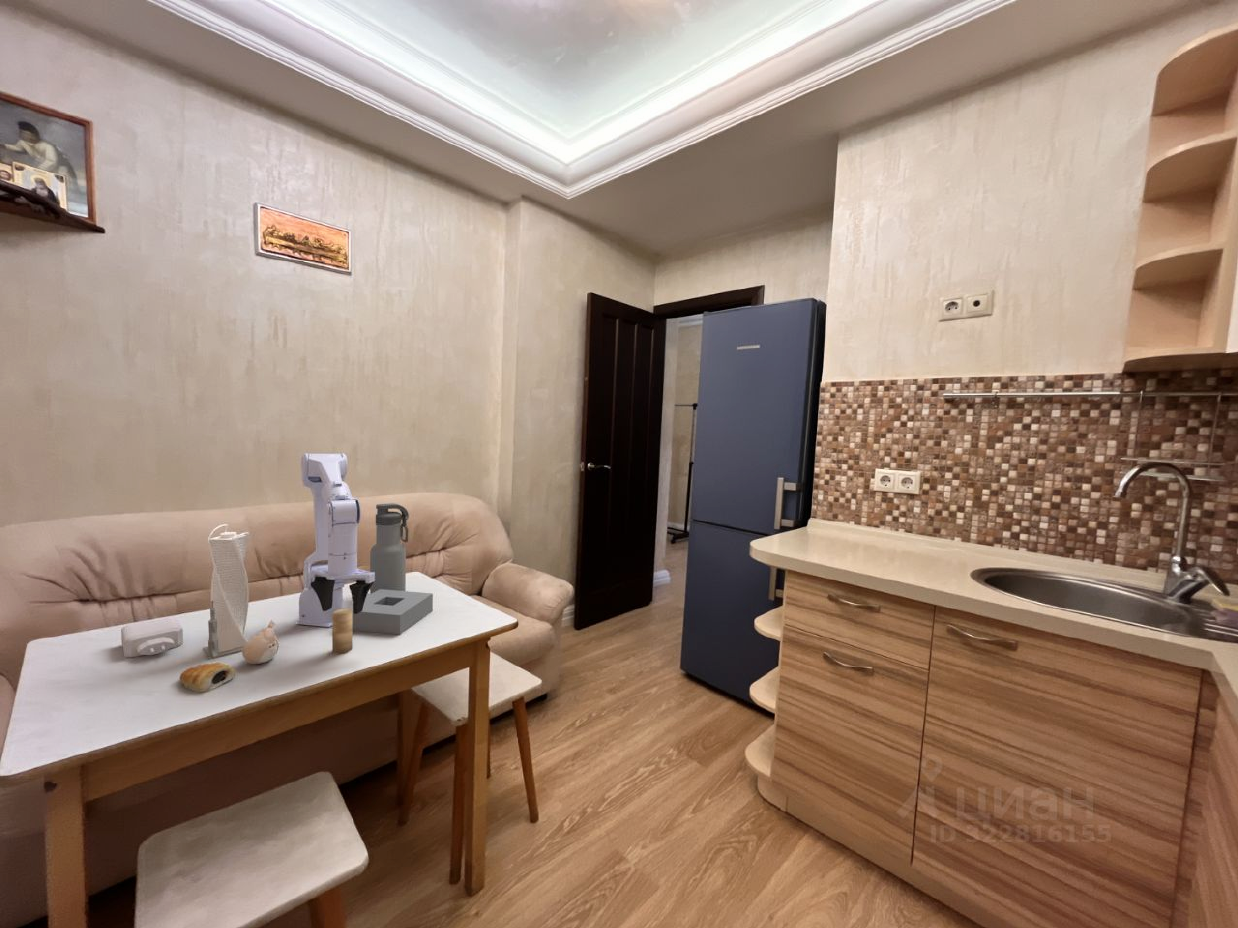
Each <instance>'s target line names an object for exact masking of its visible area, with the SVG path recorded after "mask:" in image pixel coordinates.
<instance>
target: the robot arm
mask: <svg viewBox="0 0 1238 928" xmlns="http://www.w3.org/2000/svg"><path fill="white" fill-rule="evenodd" d="M300 462H301V463H300V464H301V465H300V469H301V482H302V486H303V487H305V488H309V490H310V491H311V493H312V497H313V516H314V517H313V519H314V521H313V522H314V539H315V540H314V541H315V550H314V551H313V552H312V553H311V554H310V555H308V556H307V557H306V558H305V559H304V561H303V569H302V571H303V572H302V577H303V578H302V579H303V586H304V588H303V590H301V592H300V594H299V599H298V621H296V625H304V626H312V627H313V626H315V627H324V628H326V627H327V628H330V627H331V628H332V613H333V612H334V611H336V610H339V609H343V608H344V607H343V606H344V605H343V601H344V598H343V592H344V591H343V590H344V589H343V588H345V584H348V582H350V581H351V582H354V583H351V584H350V585H349V586H348V587H349V590H350V593H351V596H352V604H353V612H354V614H357V613H359V612H361V611H362V609H363V605H364V602H365V599H366V596H368V595H369V594H368V593H370V588H371V586H372V584H373V583H374V581H375V573H374V572H370V571H367V570H363V569H360V568H358V525H359V524H360V522H361V521H360V520H361V512H362V511H361V505H360V500H359V499H358V498H356V497H353V495H352V492H351V490H350V486H349V485H348V484H347V482H345V478H346V475H347V474H348V457H347V455H346V453H343V452H341V453H307V452H305V453H303V454H302V455H301V459H300Z"/></svg>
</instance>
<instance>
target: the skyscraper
mask: <svg viewBox="0 0 1238 928" xmlns="http://www.w3.org/2000/svg"><path fill="white" fill-rule="evenodd" d="M223 527H225V528H224V532H221V533H220V534H219V536H216V537H212V536H213V533H214V532H215V531H217V530H218V529H220V528H223ZM228 529H229V524H227V523H224V524H219V525H218V526H216V527H215V528H213V529H212V530H211V532H210V533H209V535H208V537H207V540H206V541H207V545H208V548H209V553H210V558H211V562H212V567H213V569H212V574H211V579H210V581H211V582H210V608H209V616H210V617H209V618H210V619H209V620H207V626H208V628H207V629H208V640H207V646H203V647H202V650H203V652H204V654H205V656H206V658H207V660H208V661H211V660H214V659H215V660H216V659H218V658H219V659H220V658H223V657H227V656H231V655H234V654H235V655H236V654H239V653H242V650H243V647H244V645H245V644H246V643H247V642H246V640H245V638H244V634H245V630H246V629H245V628H246V624H247V619H248V611H249V610H248V609H249V602H250V601H249V600H250V598H249V597H250V590H249V589H250V588H249V580H248V573H247V570H246V567H245V563H244V561H245V557H246V554H247V553H246V552H247V549H248V544H249V539H250V532H248V531H245V532H242V533H239V534H237V532H236V531H228Z"/></svg>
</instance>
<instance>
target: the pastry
mask: <svg viewBox="0 0 1238 928" xmlns="http://www.w3.org/2000/svg"><path fill="white" fill-rule="evenodd" d="M235 675H236V671H235V668H234V667H233V666H230V665H228V664H224V663H221V662H215V663H204V664H199V665H196V666H191V667H189V668H187V669H184V670H183V671H181V673H180V676H179V680H180V682H181V683H183V685H184V686H185V688H186V689H189V690H192V691H194V692H198V693H207V692H209V691H212V690H216V689H218V687H220V686H221V685H224V684H225V683H228V682H230V681H231V680H232V679H233V678H234V677H235Z"/></svg>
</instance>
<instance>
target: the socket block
mask: <svg viewBox="0 0 1238 928" xmlns="http://www.w3.org/2000/svg"><path fill="white" fill-rule="evenodd" d="M433 597H434V593H429V592H418V591H417V592H416V591H407V590H405V591H396V590H385V589H379V590H377V591H375V592H374V593H372V594H370V593H369V594H367V596H366V599H365V602H364V605H363V609H362V611H361V612H359V613H357V614H354V612H353V631H356V632H359V631H360V632H367V633H368V632H369V633H379V634H390V635H398V636H399V635H402V634H403V633H404V632H406V631H407V630H409V629H410V628H411V627H413V626H415V624H417V623H418V622H419V621H421V620H423V618H425V617H426V616H427V615H429V614H430V613H432V612H433V610H434V607H433V606H434V605H433V602H434V599H433ZM343 609H352V610H353V603H351V604H349V605H347V606H346V607H343Z"/></svg>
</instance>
